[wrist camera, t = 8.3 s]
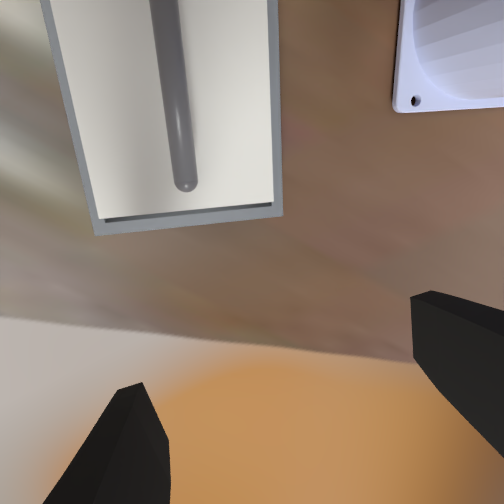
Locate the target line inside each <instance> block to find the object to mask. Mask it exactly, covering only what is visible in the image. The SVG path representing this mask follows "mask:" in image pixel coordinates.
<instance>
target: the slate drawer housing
mask: <svg viewBox="0 0 504 504" xmlns="http://www.w3.org/2000/svg"><path fill="white" fill-rule="evenodd" d="M40 3H41V7H42V12H43V16H44V20H45V24H46V29H47V33H48V37H49V42H50V46H51V50H52V54H53V59H54V63H55V67H56V72H57V76H58V80H59V84H60V89H61V93H62V97H63V101H64V106H65V110H66V114H67V119H68V123H69V127H70V131H71V136H72V140H73V144H74V149H75V153H76V157H77V161H78V166H79V170H80V174H81V178H82V183H83V187H84V191H85V196H86V200H87V204H88V208H89V213H90V217H91V221H92V226H93V230H94V234H95V236H101V235H110V234H119V233H129V232H138V231H147V230H157V229H166V228H175V227H185V226H194V225H204V224H213V223H222V222H232V221H241V220H250V219H260V218H269V217H278V216H283V195H282V153H281V111H280V70H279V28H278V0H267V15H268V45H269V75H270V105H271V134H272V164H273V194H274V202H265V203H255V204H245V205H235V206H225V207H215V208H205V209H195V210H185V211H175V212H165V213H155V214H145V215H135V216H125V217H115V218H105V219H99V217H98V212H97V208H96V204H95V199H94V195H93V190H92V186H91V181H90V177H89V172H88V168H87V164H86V159H85V155H84V150H83V146H82V141H81V137H80V132H79V128H78V124H77V119H76V115H75V110H74V106H73V101H72V97H71V92H70V88H69V84H68V79H67V75H66V70H65V66H64V61H63V57H62V52H61V48H60V44H59V39H58V35H57V30H56V26H55V21H54V17H53V12H52V8H51V4H50V0H40Z"/></svg>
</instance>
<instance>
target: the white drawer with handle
mask: <svg viewBox="0 0 504 504" xmlns="http://www.w3.org/2000/svg"><path fill="white" fill-rule="evenodd" d="M50 4H51V8H52V12H53V17H54V21H55V26H56V30H57V35H58V39H59V44H60V48H61V52H62V57H63V61H64V66H65V70H66V75H67V79H68V84H69V88H70V92H71V97H72V101H73V106H74V110H75V115H76V119H77V124H78V128H79V132H80V137H81V141H82V146H83V150H84V155H85V159H86V164H87V168H88V172H89V177H90V181H91V186H92V190H93V195H94V199H95V204H96V208H97V212H98V217H99V219H105V218H115V217H125V216H135V215H145V214H155V213H165V212H175V211H185V210H195V209H205V208H215V207H225V206H235V205H245V204H255V203H265V202H274V194H273V164H272V134H271V105H270V75H269V45H268V15H267V0H50Z"/></svg>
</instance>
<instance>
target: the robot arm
mask: <svg viewBox="0 0 504 504" xmlns="http://www.w3.org/2000/svg"><path fill="white" fill-rule="evenodd" d="M413 96H414V97H415V98H416V102H415V104H414V106H412V105H411V99H412V97H413ZM392 104H393V108H394V110H395V111H396V112H398V113H410V112H427V111H443V110H460V109H477V108H493V107H504V0H401V6H400V18H399V30H398V42H397V54H396V65H395V77H394V89H393V101H392ZM410 300H411V319H412V338H413V358H414V359H415V360H416V362H417V363H418V364H419V366H420V367H421V368H422V370H423V371H424V372H425V374H426V375H427V376H428V378H429V379H430V380H431V382H432V383H433V384H434V385H435V387H436V388H437V389H438V390H439V392H441V393H442V395H443V396H444V397H445V398H446V399H447V400H448V401H449V402H450V403H451V404H452V405H453V406H454V407H455V408H456V409H457V410H458V411H459V412H460V414H461V415H462V416H463V417H464V418H465V419H466V420H467V421H469V423H470V424H471V425H472V426H473V427H474V428H475V429H476V430H477V431H478V432H479V433H480V434H481V435H482V436H483V437H484V438H485V439H486V440H487V441H488V442H489V443H490V444H491V445H492V446H493V447H494V448H495V449H496V450H497V451H498V452H499V454H501V456H502V457H503V458H504V311H502V310H499V309H496V308H492V307H489V306H486V305H482V304H479V303H476V302H472V301H469V300H466V299H462V298H459V297H455V296H452V295H448V294H444V293H440V292H436V291H428V292H425V293H422V294H418V295H415V296H412V297H410ZM170 489H171V476H170V455H169V440H168V437H167V435H166V433H165V431H164V429H163V426H162V424H161V422H160V420H159V418H158V416H157V413H156V411H155V409H154V407H153V405H152V402H151V400H150V398H149V396H148V394H147V392H146V389H145V387H144V385H143V383H142V382H141V383H138V384H135V385H132V386H128V387H125V388H122V389H119V390H117V392H116V393H115V395H114V396H113V398H112V399H111V401H110V402H109V404H108V405H107V407H106V409H105V410H104V412H103V413H102V415H101V416H100V418H99V420H98V421H97V423H96V424H95V426H94V427H93V429H92V431H91V432H90V434H89V435H88V437H87V438H86V440H85V442H84V443H83V445H82V446H81V448H80V449H79V451H78V452H77V454H76V455H75V457H74V458H73V460H72V461H71V463H70V465H69V466H68V468H67V469H66V471H65V472H64V474H63V475H62V477H61V478H60V480H59V481H58V482H57V484H56V485H55V487H54V488H53V490H52V491H51V493H50V494H49V495H48V497H47V498H46V500H45V501H44V502H43V504H170Z"/></svg>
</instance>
